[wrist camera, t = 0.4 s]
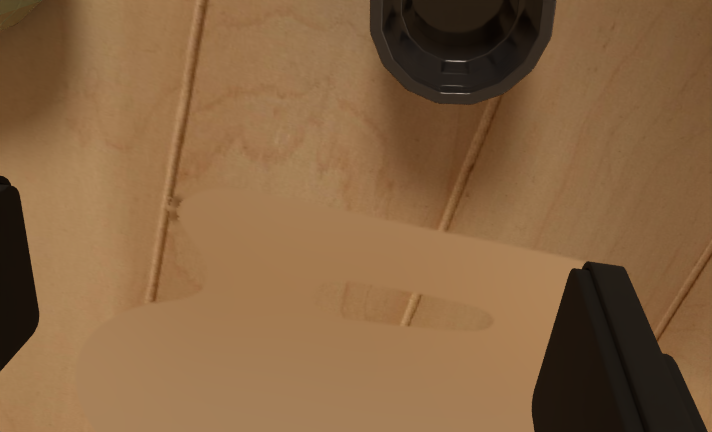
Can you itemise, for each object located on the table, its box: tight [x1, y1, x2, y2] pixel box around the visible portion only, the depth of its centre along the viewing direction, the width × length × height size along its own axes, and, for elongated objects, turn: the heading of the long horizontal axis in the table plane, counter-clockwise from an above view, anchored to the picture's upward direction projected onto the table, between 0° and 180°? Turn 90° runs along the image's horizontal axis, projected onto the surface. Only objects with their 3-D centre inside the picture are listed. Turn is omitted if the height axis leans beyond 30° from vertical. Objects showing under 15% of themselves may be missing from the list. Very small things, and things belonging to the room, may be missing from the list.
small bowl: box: [370, 0, 556, 105], centre depth 28 cm, size 7×7×6 cm
